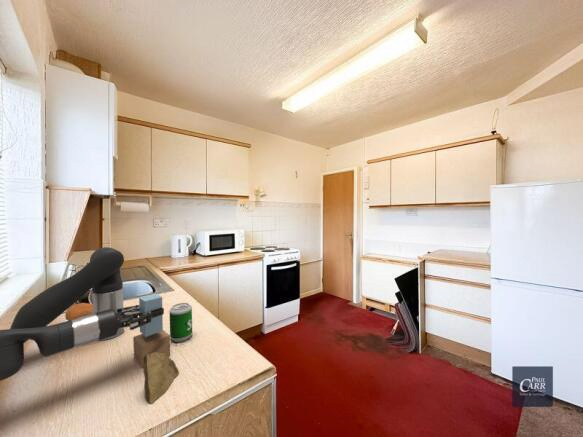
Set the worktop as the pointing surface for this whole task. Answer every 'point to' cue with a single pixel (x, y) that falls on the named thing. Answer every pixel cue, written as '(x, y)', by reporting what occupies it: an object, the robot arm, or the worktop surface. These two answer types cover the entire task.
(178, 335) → the soda can
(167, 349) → the walnut block
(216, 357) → the worktop surface
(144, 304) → the blue block
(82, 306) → the potato
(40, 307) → the robot arm
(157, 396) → the rock
